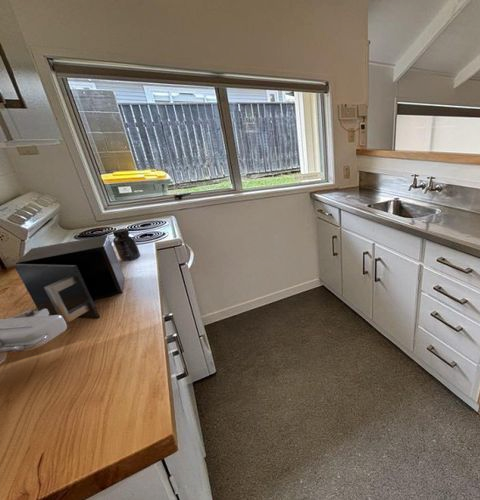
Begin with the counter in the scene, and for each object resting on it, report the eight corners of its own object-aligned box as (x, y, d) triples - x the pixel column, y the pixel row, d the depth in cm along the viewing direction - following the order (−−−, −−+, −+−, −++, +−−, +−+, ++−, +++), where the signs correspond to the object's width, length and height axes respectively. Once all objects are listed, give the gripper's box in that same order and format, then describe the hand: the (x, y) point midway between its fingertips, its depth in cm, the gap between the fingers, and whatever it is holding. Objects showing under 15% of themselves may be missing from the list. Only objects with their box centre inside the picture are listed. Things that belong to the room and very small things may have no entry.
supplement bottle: (123, 256, 117) (112, 229, 113) (142, 253, 120) (133, 226, 115) (118, 262, 111) (106, 234, 107) (138, 259, 114) (128, 231, 109)
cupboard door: (75, 333, 71) (46, 277, 65) (15, 329, 73) (-18, 275, 67) (100, 317, 77) (76, 265, 71) (44, 314, 79) (17, 263, 73)
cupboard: (122, 293, 88) (103, 246, 82) (43, 314, 79) (15, 263, 73) (124, 278, 98) (108, 235, 92) (55, 295, 89) (31, 248, 83)
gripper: (21, 336, 53) (80, 296, 65) (-98, 345, 51) (-14, 303, 64) (36, 362, 55) (91, 319, 68) (-77, 371, 54) (1, 326, 67)
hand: (39, 311), depth 66 cm, fingers closed
